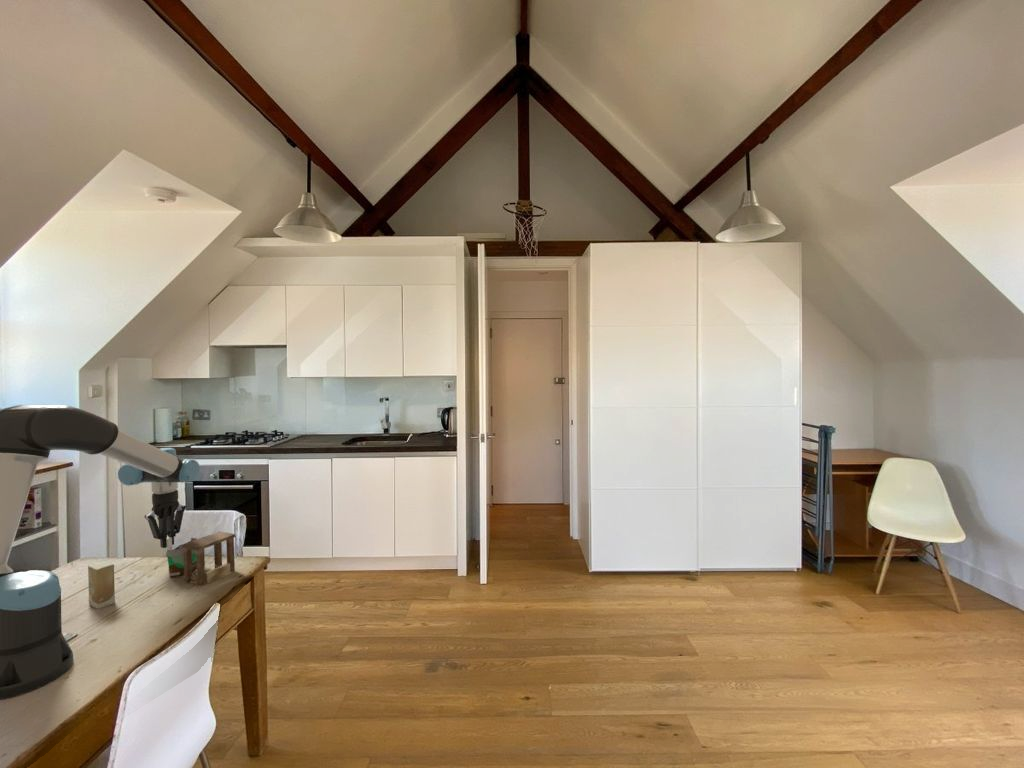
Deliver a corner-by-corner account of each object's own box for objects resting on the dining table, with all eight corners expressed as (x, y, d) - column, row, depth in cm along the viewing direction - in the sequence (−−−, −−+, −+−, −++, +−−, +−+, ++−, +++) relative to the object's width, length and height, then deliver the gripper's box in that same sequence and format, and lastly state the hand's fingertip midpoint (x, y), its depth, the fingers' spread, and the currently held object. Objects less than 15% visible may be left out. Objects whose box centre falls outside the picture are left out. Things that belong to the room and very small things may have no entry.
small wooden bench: (200, 587, 146) (198, 548, 146) (182, 583, 149) (181, 544, 149) (237, 570, 158) (236, 534, 158) (220, 566, 161) (219, 531, 161)
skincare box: (88, 604, 136) (86, 565, 136) (106, 598, 140) (104, 559, 139) (97, 609, 133) (96, 569, 133) (116, 602, 137) (114, 563, 136)
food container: (184, 579, 152) (183, 550, 151) (166, 579, 152) (165, 550, 151) (209, 564, 164) (208, 537, 164) (193, 564, 164) (192, 537, 164)
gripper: (151, 497, 154) (154, 564, 155) (190, 487, 166) (193, 549, 167) (137, 495, 156) (141, 561, 157) (177, 485, 169) (179, 546, 170)
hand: (167, 555), depth 162 cm, fingers closed
